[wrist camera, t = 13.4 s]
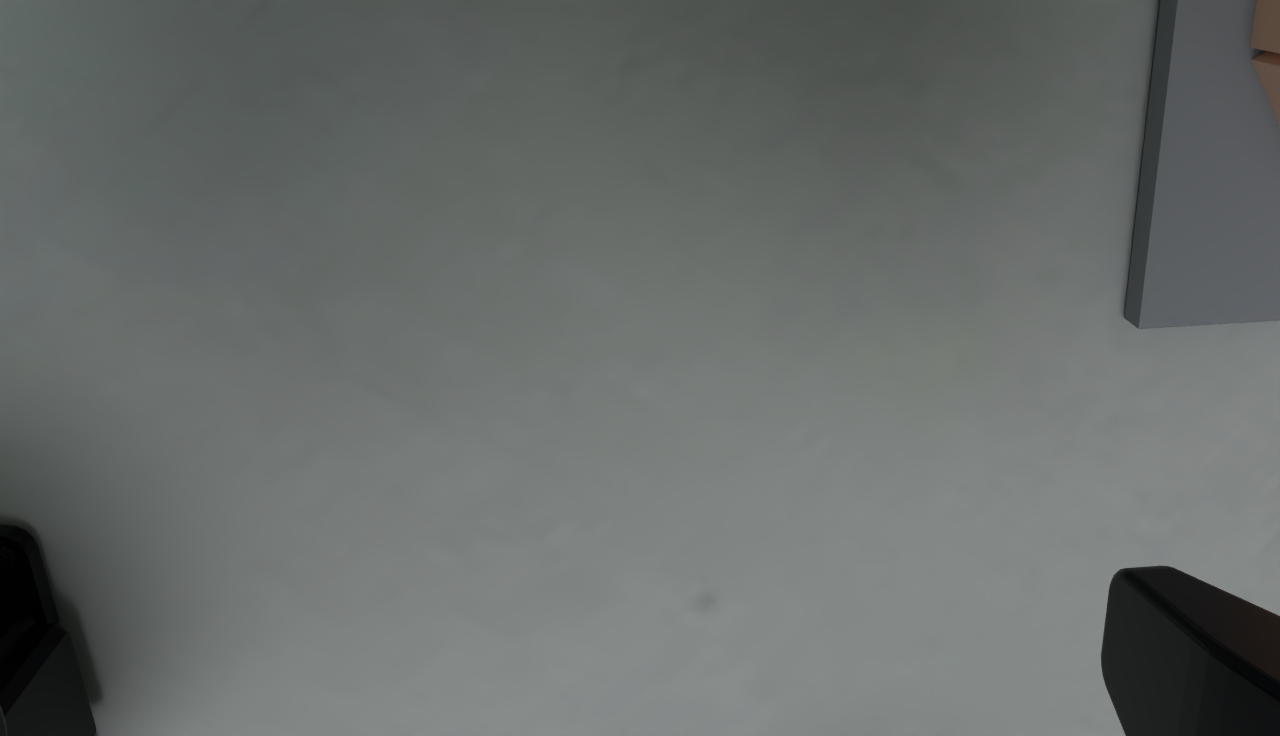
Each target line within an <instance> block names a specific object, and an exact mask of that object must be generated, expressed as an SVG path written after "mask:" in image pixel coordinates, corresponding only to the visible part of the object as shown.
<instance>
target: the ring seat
mask: <svg viewBox="0 0 1280 736" xmlns="http://www.w3.org/2000/svg"><path fill="white" fill-rule="evenodd" d="M1124 318H1125V319H1126V320H1128V321H1129V322H1130V323H1132V324H1133V325H1134V326H1136V327H1137V328H1138V329H1145V328H1161V327H1178V326H1194V325H1211V324H1227V323H1244V322H1260V321H1277V320H1280V0H1160V9H1159V17H1158V26H1157V35H1156V44H1155V53H1154V61H1153V70H1152V79H1151V88H1150V97H1149V105H1148V114H1147V123H1146V132H1145V140H1144V149H1143V158H1142V167H1141V176H1140V184H1139V193H1138V202H1137V211H1136V220H1135V228H1134V237H1133V246H1132V255H1131V263H1130V272H1129V281H1128V290H1127V299H1126V307H1125V316H1124Z"/></svg>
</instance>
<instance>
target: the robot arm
mask: <svg viewBox="0 0 1280 736" xmlns="http://www.w3.org/2000/svg"><path fill="white" fill-rule="evenodd" d="M0 547H4V548H7V549H8V550H10V551H11V552H12V553H13V555H14V556H15V559H10V558H7V557H5V556H4V555H2V554H1V552H0V736H94V735H95V733H96V726H95V723H94V719H93V716H92V712H91V709H90V705H89V702H88V698H87V695H86V691H85V688H84V684H83V681H82V677H81V673H80V670H79V666H78V663H77V659H76V656H75V652H74V649H73V645H72V642H71V638H70V635H69V633H68V632H67V631H66V630H65V628H64V627H63V626H62V625H61V624H60V622H59V618H58V615H57V611H56V608H55V604H54V601H53V597H52V594H51V590H50V587H49V583H48V580H47V576H46V573H45V569H44V566H43V562H42V559H41V555H40V552H39V548H38V545H37V543H36V542H35V540H34V538H33V537H32V536H31V535H30V534H29V533H28V532H27V531H26V530H24V529H21V528H19V527H17V526H12V525H0ZM1101 666H1102V673H1103V678H1104V682H1105V685H1106V688H1107V690H1108V693H1109V695H1110V698H1111V700H1112V703H1113V705H1114V708H1115V710H1116V713H1117V715H1118V718H1119V720H1120V723H1121V725H1122V727H1123V730H1124V732H1125V735H1126V736H1280V616H1278V615H1276V614H1274V613H1272V612H1270V611H1267V610H1265V609H1263V608H1261V607H1259V606H1256V605H1254V604H1252V603H1250V602H1248V601H1245V600H1243V599H1241V598H1239V597H1237V596H1234V595H1232V594H1230V593H1228V592H1226V591H1223V590H1221V589H1219V588H1217V587H1215V586H1212V585H1210V584H1208V583H1206V582H1204V581H1201V580H1199V579H1197V578H1195V577H1193V576H1190V575H1188V574H1186V573H1184V572H1182V571H1179V570H1177V569H1175V568H1172V567H1169V566H1150V567H1135V568H1124V569H1120V570H1119V571H1118V572H1117V573H1116V574H1115V575H1114V576H1113V578H1112V581H1111V583H1110V588H1109V595H1108V603H1107V611H1106V619H1105V627H1104V636H1103V644H1102V652H1101Z"/></svg>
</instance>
